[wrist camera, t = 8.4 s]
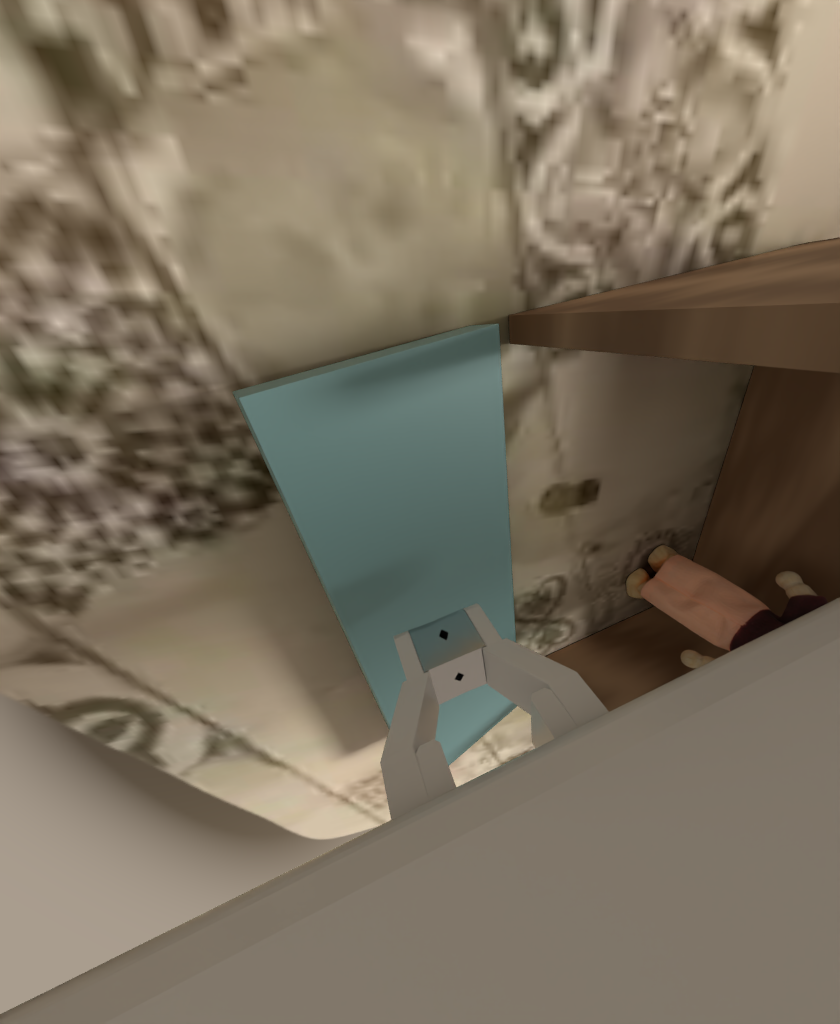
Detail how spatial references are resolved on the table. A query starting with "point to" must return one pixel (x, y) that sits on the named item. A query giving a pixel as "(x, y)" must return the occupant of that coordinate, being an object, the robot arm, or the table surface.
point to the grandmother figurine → (715, 602)
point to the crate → (755, 441)
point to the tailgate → (400, 499)
